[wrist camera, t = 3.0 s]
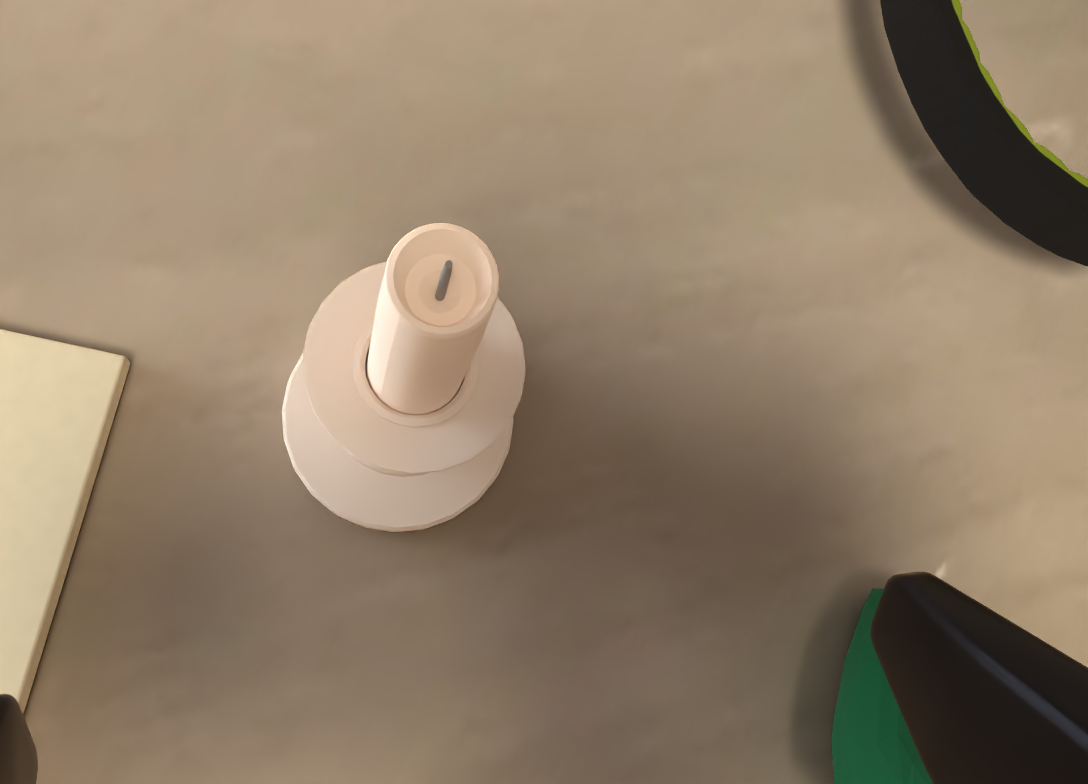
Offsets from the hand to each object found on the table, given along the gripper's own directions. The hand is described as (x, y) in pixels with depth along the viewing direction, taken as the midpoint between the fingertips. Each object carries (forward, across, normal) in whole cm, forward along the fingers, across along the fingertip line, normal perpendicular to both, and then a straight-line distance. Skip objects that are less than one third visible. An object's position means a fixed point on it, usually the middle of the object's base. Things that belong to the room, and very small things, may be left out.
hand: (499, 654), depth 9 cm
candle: (+11, 0, +5) cm, 12 cm away
